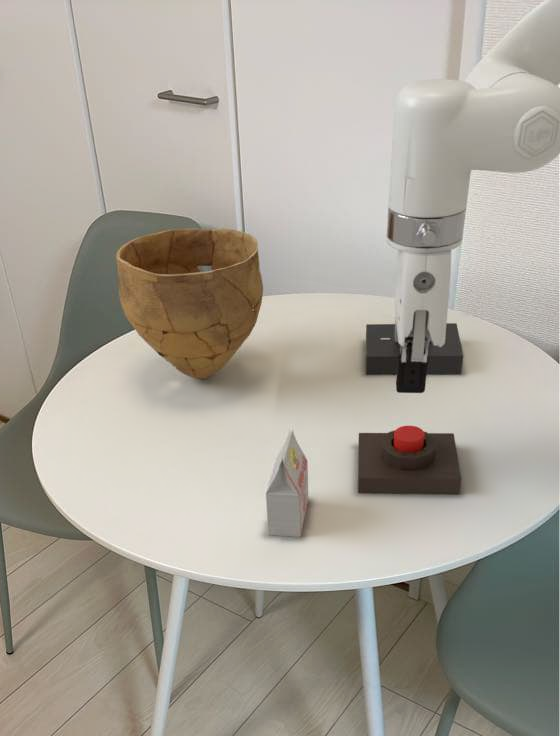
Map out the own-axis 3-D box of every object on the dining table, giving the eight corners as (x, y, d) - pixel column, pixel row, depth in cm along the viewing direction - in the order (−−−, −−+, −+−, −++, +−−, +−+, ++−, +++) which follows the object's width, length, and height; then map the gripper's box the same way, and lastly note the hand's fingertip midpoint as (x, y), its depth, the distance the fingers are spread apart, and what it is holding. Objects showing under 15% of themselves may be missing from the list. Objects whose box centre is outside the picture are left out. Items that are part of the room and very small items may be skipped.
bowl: (116, 368, 120) (91, 241, 107) (229, 335, 126) (218, 211, 113) (168, 426, 105) (146, 287, 93) (293, 385, 112) (288, 250, 99)
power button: (422, 437, 93) (423, 425, 92) (424, 453, 90) (425, 441, 89) (393, 437, 93) (393, 425, 92) (393, 453, 91) (394, 441, 90)
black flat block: (454, 340, 120) (456, 322, 118) (461, 374, 112) (463, 354, 109) (365, 341, 122) (366, 323, 119) (365, 374, 113) (366, 355, 111)
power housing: (451, 447, 97) (455, 420, 95) (459, 494, 90) (463, 466, 87) (358, 446, 99) (359, 420, 96) (357, 492, 91) (358, 465, 89)
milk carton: (268, 534, 86) (263, 462, 80) (278, 499, 91) (274, 428, 85) (300, 537, 86) (298, 464, 79) (308, 501, 91) (306, 430, 84)
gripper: (471, 252, 69) (448, 424, 81) (456, 201, 80) (438, 359, 92) (388, 253, 70) (378, 423, 82) (385, 203, 81) (376, 359, 93)
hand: (410, 389), depth 87 cm, fingers closed
